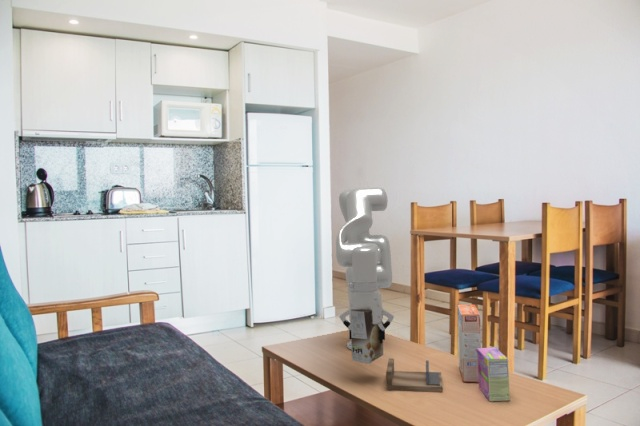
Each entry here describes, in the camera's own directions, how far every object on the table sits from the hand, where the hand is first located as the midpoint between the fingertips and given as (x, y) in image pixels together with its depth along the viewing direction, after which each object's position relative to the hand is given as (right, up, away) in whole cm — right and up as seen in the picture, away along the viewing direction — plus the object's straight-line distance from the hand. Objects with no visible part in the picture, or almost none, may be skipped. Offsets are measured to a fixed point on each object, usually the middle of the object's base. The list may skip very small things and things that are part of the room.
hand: (367, 341), depth 157 cm
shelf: (+14, -12, -4) cm, 19 cm away
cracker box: (+33, -11, +1) cm, 34 cm away
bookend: (+19, -10, -5) cm, 22 cm away
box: (+34, -11, -15) cm, 39 cm away
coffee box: (0, -5, 0) cm, 5 cm away
